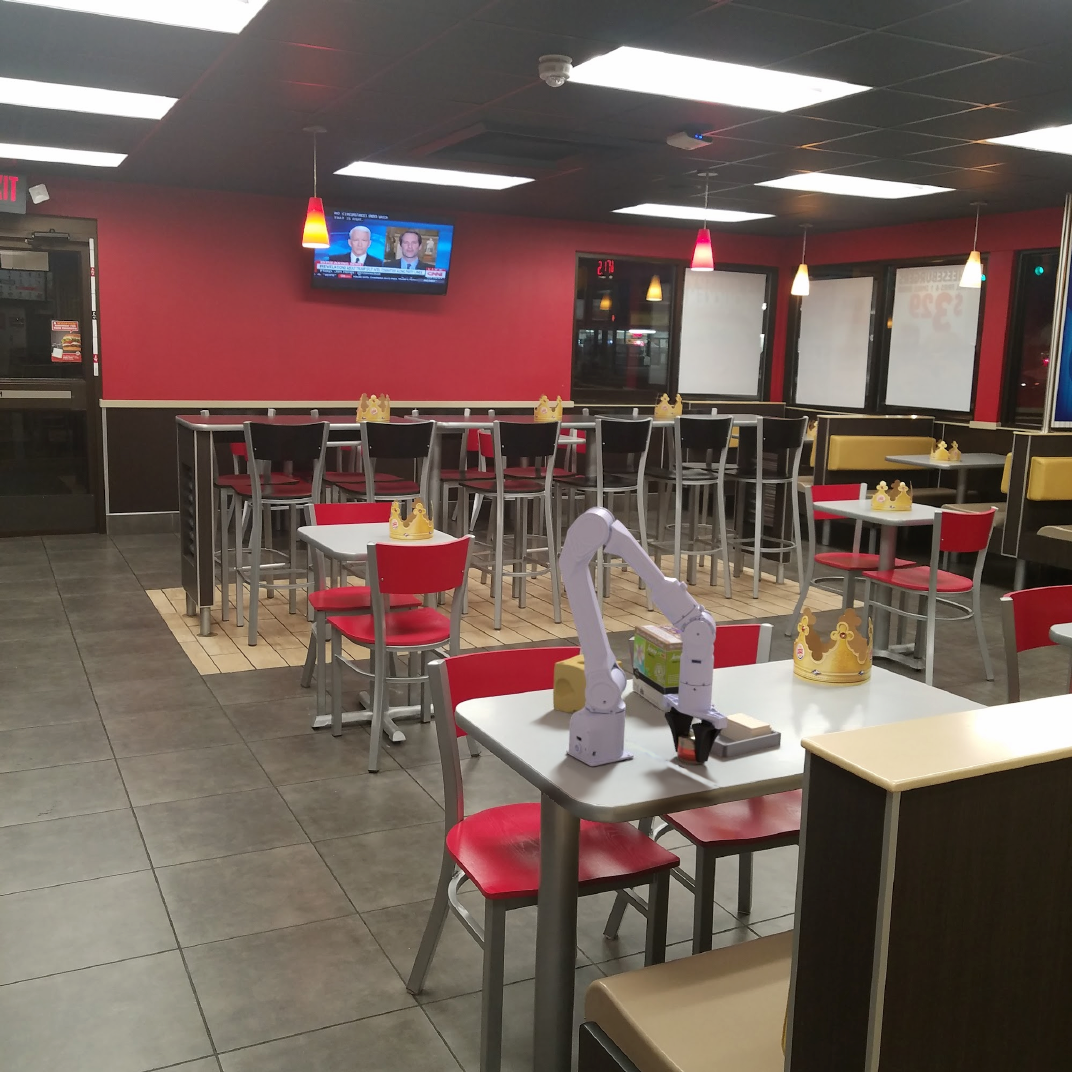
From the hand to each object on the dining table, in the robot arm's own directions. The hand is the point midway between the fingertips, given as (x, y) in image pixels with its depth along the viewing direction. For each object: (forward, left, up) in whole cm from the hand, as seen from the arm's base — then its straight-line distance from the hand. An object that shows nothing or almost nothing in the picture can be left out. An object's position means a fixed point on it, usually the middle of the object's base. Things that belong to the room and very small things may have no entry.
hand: (691, 756), depth 183 cm
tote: (+13, +3, -2) cm, 14 cm away
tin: (0, 0, -1) cm, 1 cm away
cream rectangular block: (+17, +3, -1) cm, 17 cm away
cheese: (+2, +34, -2) cm, 34 cm away
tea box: (+21, +31, -2) cm, 37 cm away
